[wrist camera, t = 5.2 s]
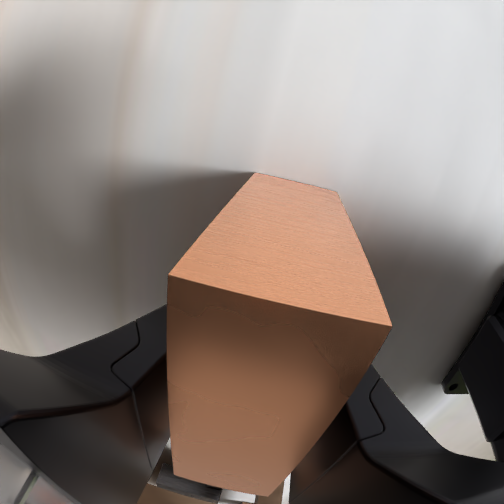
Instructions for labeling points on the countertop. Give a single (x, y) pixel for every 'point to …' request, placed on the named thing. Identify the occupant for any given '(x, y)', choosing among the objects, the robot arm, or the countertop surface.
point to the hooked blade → (265, 337)
